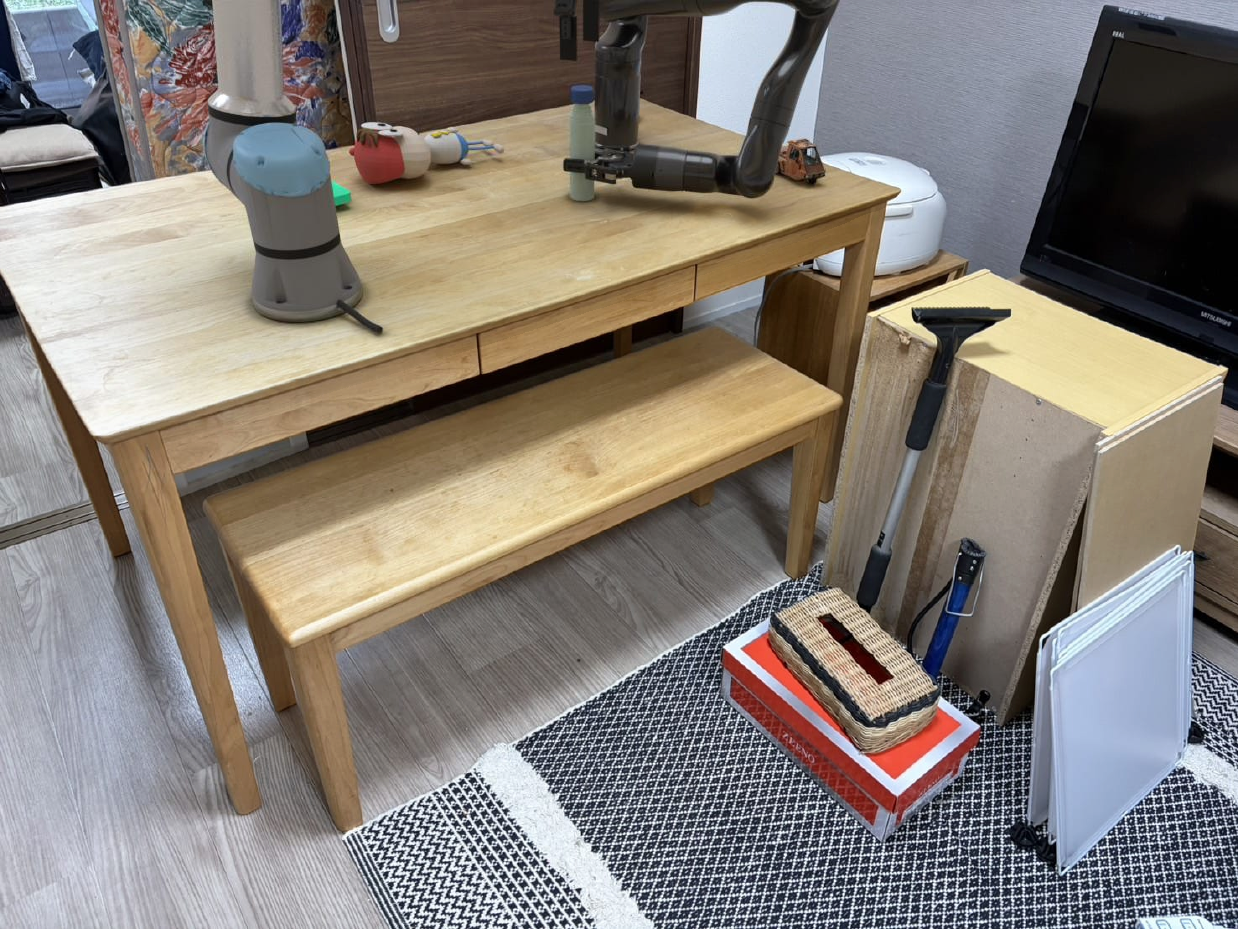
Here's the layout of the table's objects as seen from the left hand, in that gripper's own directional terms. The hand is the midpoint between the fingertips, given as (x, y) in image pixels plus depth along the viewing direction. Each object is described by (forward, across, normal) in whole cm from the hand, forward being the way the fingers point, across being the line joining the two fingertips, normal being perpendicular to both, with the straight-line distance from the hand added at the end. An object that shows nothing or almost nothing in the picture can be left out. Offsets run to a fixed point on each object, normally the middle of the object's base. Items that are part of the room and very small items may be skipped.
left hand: (580, 50), depth 155 cm
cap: (+6, 0, 0) cm, 6 cm away
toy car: (+25, -22, +37) cm, 50 cm away
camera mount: (+25, +17, -43) cm, 53 cm away
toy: (+25, -4, -32) cm, 41 cm away
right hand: (+18, 0, -2) cm, 19 cm away
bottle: (+25, 0, 0) cm, 25 cm away
